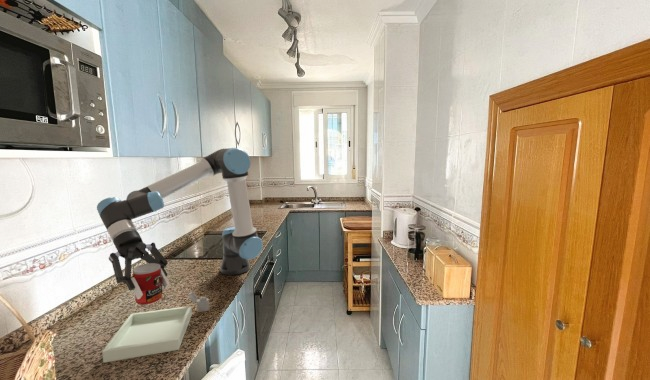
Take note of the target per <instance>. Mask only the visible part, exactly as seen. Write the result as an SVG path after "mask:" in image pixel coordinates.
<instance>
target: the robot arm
mask: <svg viewBox="0 0 650 380" xmlns="http://www.w3.org/2000/svg"><path fill="white" fill-rule="evenodd" d="M249 155H250V154H248V152H246V151H245V150H243V149H242V148H239V147H238V148H237V147H229V148H220V149H218V150H216V151H214V152H212V153H210V154H208V155H206V156H204V157H202V158H201V159H200V161H199V162H197V163H196V162H195V163H194V164H191V165H190V166H188V167H186V168H184V169H181V170H179V171H178V172H174V173H173V174H171V175H169V176H166V177H164V178H162V179H160V180H158V181H156V182H154V183H151V184H149V185H147V186H145V187H143V188H140V189H138V190H137V189H136V190H133V191H131V192H129V193H128V194H127V196H126V199H125V200H121V199H120V198H119V197H116V196H115V197H114V196H113V197H106V198H104V199H102V200H100V201H99V202H98V203H97V205H96V210H97V212H98V215H99V218H100V220H101V221H102V223H103V225H104V227H105V228H106V231H107V232H108V236H110V238H111V240H112V243H113V245H114V247H115V249H116V250H117V251H116V252H111V253H110V254H109V256H108V261H110V263H111V264H112V269H113V273H114V277H115V281H116V283H117V284H120V283H123V284H124V285H126V286H127V289H128V291H129V292H131V291H133V294H134V296H135V295H136V297H137V299H140V298H141V297H142V295H143V293H142V291H141V289H140V287H139V285H138V283H137V282H136V280H135V278H134V277H133V276H132V261H134V260H136V259H141V260H143V261H145V262H146V264H149V263H157V264H160V266H161V278H162V287H163V288H164V289H167V288H168V287H169V285H170V282H169V279H168V277H167V276H168V273H167V271H166V269H165V268H166V267H167V266H168V263H169V262H168V260H166V258H165V257H164V256H163V254H162V253H161V252H160V251H159V249H158V248H157V246H156V242H151V243H149V244H146V243H145V242H144V241H143V239H142V237H141V235H140V233H139V231H138V229H137V228H136V226H135V224H134V222H133V219H137V218H140V217H142V216H145V215H148V214H151V213H154V212H157V211H159V210H162V209H163V208H164V207H165V203H164V199H165V198H167V197H169V196H171V195H174V194H175V193H177V192H179V191H181V190H183V189H185V188H187V187H189V186H191V185H193V184H195V183H196V182H199V181H200V180H203V179H205V178H207V177H214V176H216V175H218V174H221V175H222V180H224V181H225V182H226V185H227V191H228V197H229V201H230V202H229V203H230V209H231V214H232V221H233V226H232V227H227V228H224V229H223V230H222V235H221V238H222V255H223V257H222V260H221V264H220V267H219V269H220V273H221V274H223V275H227V276H235V275H241V274H244V273H246V272H248V271H249V270H250V268H251V266H250V261H249V260H253V259H254V260H255V259H256V258H257V257H258V256H259V255H260V254H261V252H262V250H263V247H264V246H263V245H264V244H263V241H262V239H261V237H259V236H258V230H257V228H256V227H254V224H253V217H252V213H251V212H252V211H251V207H250V204H251V203H250V200H249V199H250V198H249V193H248V192H249V191H248V187H247V186H248V185H247V178H248V177H249V169H251V158H250V156H249ZM146 249H147V250H148V251H147V250H146ZM149 252H150V254H149ZM120 257H121V258H122V259H124V273H123V271H122V270H123V269H122V266H121V262H120Z"/></svg>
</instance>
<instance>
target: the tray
mask: <svg viewBox="0 0 650 380" xmlns="http://www.w3.org/2000/svg"><path fill="white" fill-rule="evenodd" d="M192 307H193V306H192V305H187V306H179V307H173V308H165V309H157V310H150V311H141V312H134V313H130V315H129V316H128V318H127V319H126V320H125V321H124V322H123V324H122V325H121V326H120V328H119V329H118V330H117V332H116V333H115V334H114V336H113V337H112V338H111V340H110V341H109V342H108V344H107V345H106V346H104V347H105V348H104V349H103V350H102V351H101V353H102V355H101V356H102V362H103V363H108V362H110V363H111V362H115V361H121V360H127V359H133V358H139V357H145V356H152V355H157V354H161V353H163V354H164V353H167V352H175V351H180V347H181V345H182V342H183V340H184V337H185V335H186V332H187V328H188V326H189V323H190V321H191V317H192V315H193V310H192Z"/></svg>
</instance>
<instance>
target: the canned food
mask: <svg viewBox="0 0 650 380" xmlns="http://www.w3.org/2000/svg"><path fill="white" fill-rule="evenodd" d="M133 277H134V278H135V280H136V282H137V283H138V285H139V287H140V289H141V291H142V293H143V295H142V297H141V298H140V299H137V297H136V295H135V294H134V301H135V303H137V304H138V305H140V306H141V305H142V306H143V305H144V306H145V305H151V304H153V303H154V304H155V303H156V302H158V301H159V300H160V299H162V298H163V293H164V292H163V285H162V278H161V266H160V264H157V263H144V264H140V265H138V266H136V267H134V268H133V269H132V278H133Z"/></svg>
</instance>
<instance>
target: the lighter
mask: <svg viewBox="0 0 650 380" xmlns="http://www.w3.org/2000/svg"><path fill="white" fill-rule="evenodd" d="M187 295H188V297H189V299H190V301H192V303H193V304H195V303H196V307H197V309H196V310H197V313H201V312H207V311H208V312H209V311H210V298H207V297H206V296H201V297H200V298H198V297H197V296H196V295H195V293H194V292H193V291H190V292H189V293H188V294H187Z"/></svg>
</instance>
